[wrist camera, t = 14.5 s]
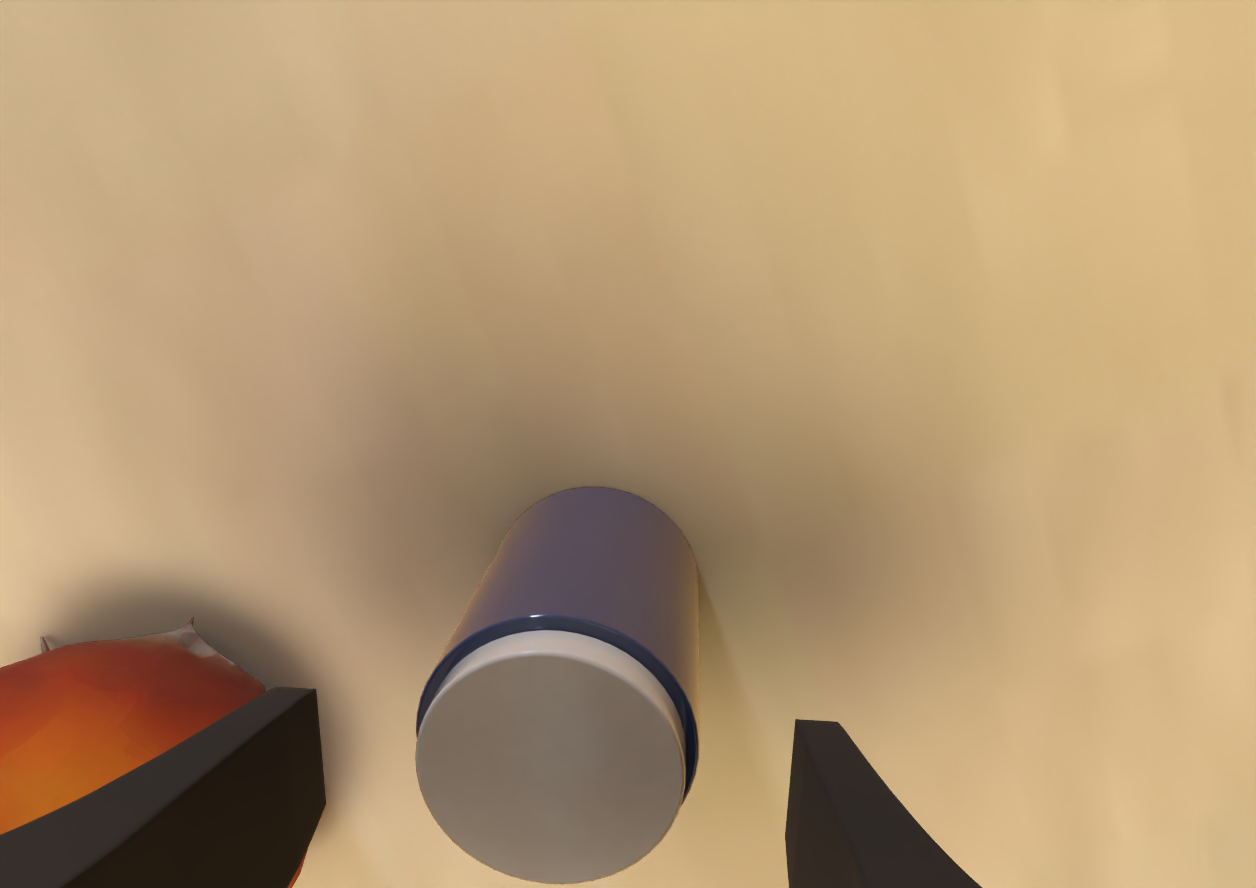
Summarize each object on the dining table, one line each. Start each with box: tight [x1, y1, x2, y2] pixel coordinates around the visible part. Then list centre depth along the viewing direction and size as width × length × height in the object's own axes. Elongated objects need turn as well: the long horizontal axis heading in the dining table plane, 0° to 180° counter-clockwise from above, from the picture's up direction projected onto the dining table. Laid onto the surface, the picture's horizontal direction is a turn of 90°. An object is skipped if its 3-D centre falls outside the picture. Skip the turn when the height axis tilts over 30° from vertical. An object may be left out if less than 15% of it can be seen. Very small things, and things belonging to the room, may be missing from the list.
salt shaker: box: [415, 487, 699, 884], centre depth 16 cm, size 4×4×6 cm
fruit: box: [0, 617, 308, 888], centre depth 18 cm, size 8×8×8 cm
